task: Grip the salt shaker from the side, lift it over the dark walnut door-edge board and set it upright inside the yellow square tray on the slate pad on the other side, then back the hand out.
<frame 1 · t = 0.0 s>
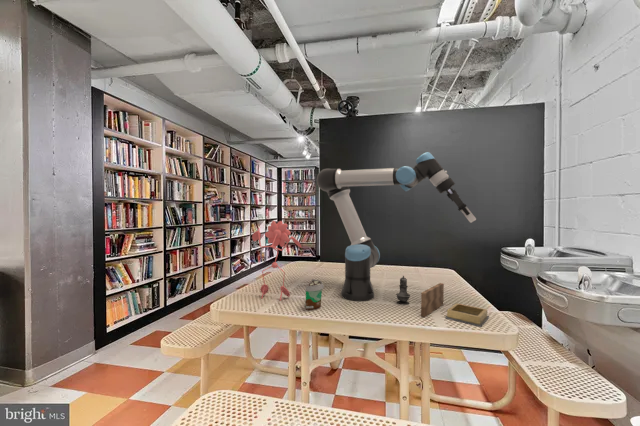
hand: (472, 220, 128), 36 cm above the table, tool tilted 35°, fingers open, 13 cm apart
pink tall figurine: (277, 296, 137), on the table
food container: (315, 307, 122), on the table
salt shaker: (403, 303, 127), on the table
yellow square tray: (467, 318, 110), on the table
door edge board: (432, 309, 119), on the table
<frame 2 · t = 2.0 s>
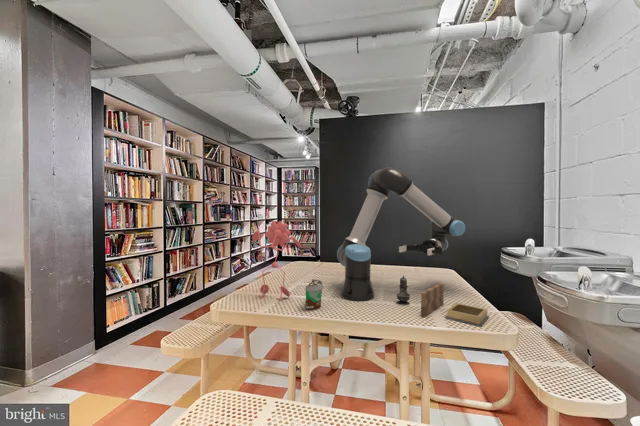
hand: (413, 250, 134), 22 cm above the table, tool horizontal, fingers open, 13 cm apart
nothing on the table moved.
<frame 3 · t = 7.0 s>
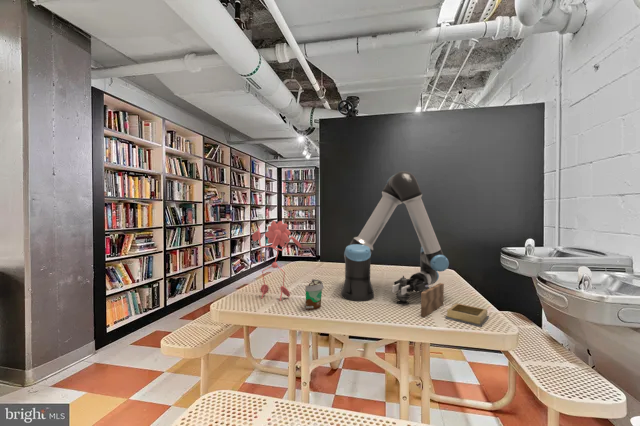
hand: (397, 290, 123), 7 cm above the table, tool horizontal, fingers closed on salt shaker, 4 cm apart
salt shaker: (403, 303, 127), on the table, touching gripper
everything else where it was.
when the fingers open (9 cm above the table, at t = 13.0 s): salt shaker drops 1 cm, resting on yellow square tray.
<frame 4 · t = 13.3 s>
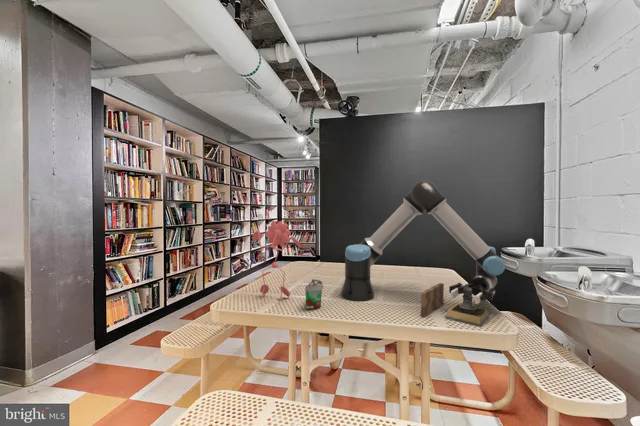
hand: (463, 297, 106), 9 cm above the table, tool horizontal, fingers open, 8 cm apart
salt shaker: (467, 316, 110), resting on yellow square tray
everything else where it was.
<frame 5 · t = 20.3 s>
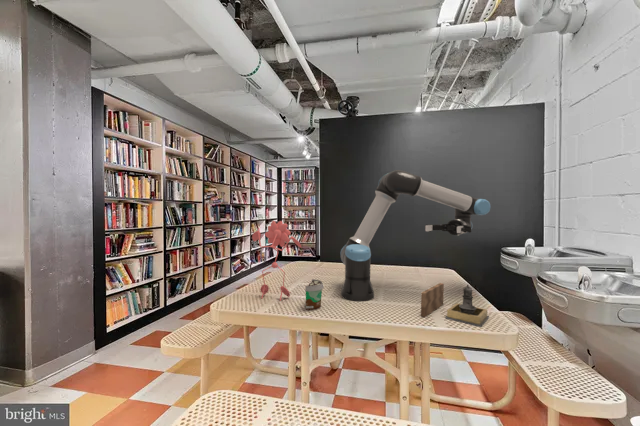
hand: (441, 229, 130), 32 cm above the table, tool horizontal, fingers open, 13 cm apart
nothing on the table moved.
at the end: salt shaker 0.1 cm off-centre on the yellow square tray, point 0.4 cm above the yellow square tray's base; salt shaker tilted 0°; the gripper is holding nothing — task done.
